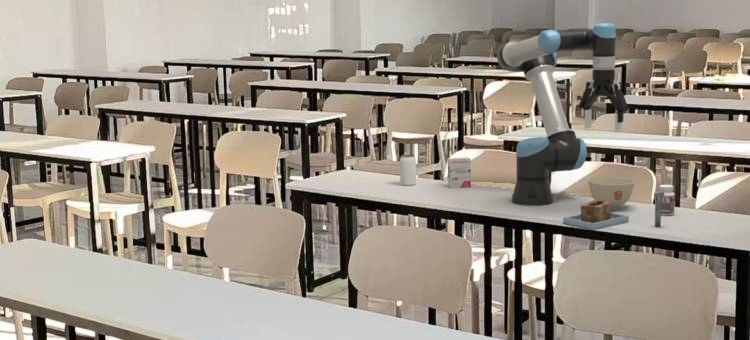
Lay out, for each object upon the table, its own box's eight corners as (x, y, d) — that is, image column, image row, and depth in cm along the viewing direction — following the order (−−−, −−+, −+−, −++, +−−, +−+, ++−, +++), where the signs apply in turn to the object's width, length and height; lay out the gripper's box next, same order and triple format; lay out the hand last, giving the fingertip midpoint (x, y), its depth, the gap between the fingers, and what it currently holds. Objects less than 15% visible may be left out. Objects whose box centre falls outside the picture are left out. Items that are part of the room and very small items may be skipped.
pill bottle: (674, 216, 346) (675, 187, 344) (657, 215, 347) (658, 187, 345) (673, 212, 351) (674, 184, 350) (656, 212, 352) (657, 184, 351)
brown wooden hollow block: (593, 217, 345) (593, 199, 344) (611, 219, 341) (611, 201, 340) (578, 224, 335) (578, 206, 334) (596, 226, 331) (596, 208, 330)
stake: (652, 226, 331) (653, 193, 329) (660, 224, 333) (660, 191, 332) (656, 227, 330) (657, 193, 328) (664, 225, 332) (665, 192, 330)
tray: (563, 223, 339) (563, 217, 338) (599, 215, 349) (599, 210, 349) (592, 230, 328) (592, 224, 328) (628, 221, 339) (628, 216, 338)
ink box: (468, 185, 411) (467, 156, 409) (471, 187, 406) (470, 158, 404) (447, 186, 410) (447, 157, 408) (450, 188, 405) (450, 159, 403)
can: (416, 185, 412) (415, 156, 410) (400, 186, 412) (399, 157, 410) (415, 182, 418) (415, 154, 416) (400, 183, 418) (399, 154, 416)
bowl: (634, 204, 366) (634, 177, 365) (634, 213, 351) (634, 185, 349) (588, 203, 370) (589, 176, 369) (587, 212, 355) (587, 184, 353)
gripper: (569, 67, 356) (568, 127, 359) (625, 71, 336) (624, 134, 339) (583, 66, 360) (583, 125, 364) (639, 69, 340) (638, 132, 344)
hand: (602, 130), depth 352 cm, fingers open, 13 cm apart
